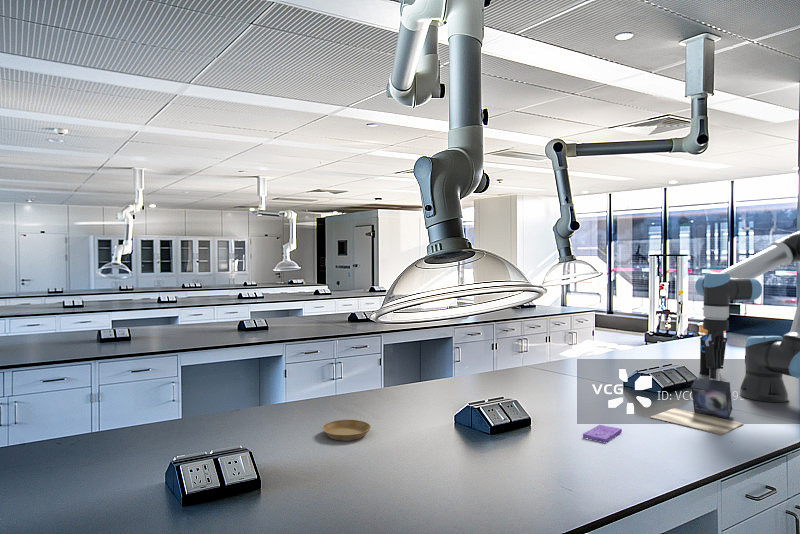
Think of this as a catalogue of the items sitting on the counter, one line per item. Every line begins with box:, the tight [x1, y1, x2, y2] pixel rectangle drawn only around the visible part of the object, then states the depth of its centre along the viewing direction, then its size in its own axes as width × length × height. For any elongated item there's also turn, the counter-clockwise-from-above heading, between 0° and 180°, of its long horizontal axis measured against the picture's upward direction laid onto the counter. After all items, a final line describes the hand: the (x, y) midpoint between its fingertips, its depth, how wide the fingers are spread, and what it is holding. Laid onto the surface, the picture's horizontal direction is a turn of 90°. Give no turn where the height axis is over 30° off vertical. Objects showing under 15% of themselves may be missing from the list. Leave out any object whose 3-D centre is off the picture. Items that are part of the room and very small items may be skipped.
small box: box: [691, 377, 733, 420], centre depth 186 cm, size 11×6×10 cm, turn 47°
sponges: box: [582, 424, 623, 444], centre depth 167 cm, size 7×13×2 cm, turn 138°
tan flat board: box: [649, 407, 744, 436], centre depth 180 cm, size 16×22×1 cm
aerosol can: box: [699, 333, 710, 377], centre depth 247 cm, size 8×8×20 cm
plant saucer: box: [321, 419, 371, 441], centre depth 170 cm, size 15×15×3 cm
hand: (714, 387), depth 188 cm, fingers closed
